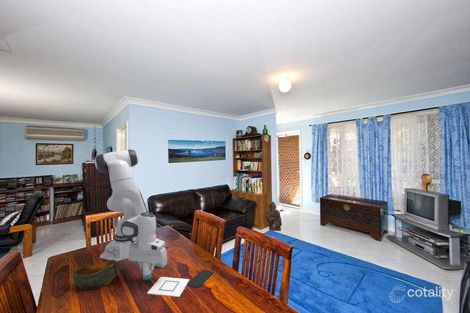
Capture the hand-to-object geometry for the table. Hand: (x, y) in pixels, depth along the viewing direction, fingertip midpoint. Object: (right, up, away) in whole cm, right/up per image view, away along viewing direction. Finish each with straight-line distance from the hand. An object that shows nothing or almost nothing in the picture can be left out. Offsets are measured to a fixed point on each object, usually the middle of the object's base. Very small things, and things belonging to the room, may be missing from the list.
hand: (147, 269), depth 107 cm
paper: (+14, -4, -7) cm, 16 cm away
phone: (+29, -5, 0) cm, 29 cm away
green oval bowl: (-23, -5, -5) cm, 24 cm away
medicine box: (+2, -5, +13) cm, 14 cm away
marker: (0, -4, 0) cm, 4 cm away
